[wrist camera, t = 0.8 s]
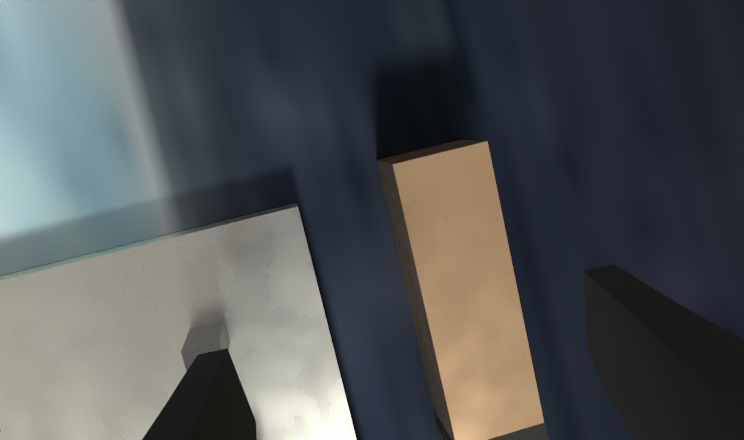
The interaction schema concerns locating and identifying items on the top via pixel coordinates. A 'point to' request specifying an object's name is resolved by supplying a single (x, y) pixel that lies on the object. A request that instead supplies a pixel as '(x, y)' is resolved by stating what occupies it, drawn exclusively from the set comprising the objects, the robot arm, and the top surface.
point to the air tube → (463, 292)
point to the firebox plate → (171, 334)
